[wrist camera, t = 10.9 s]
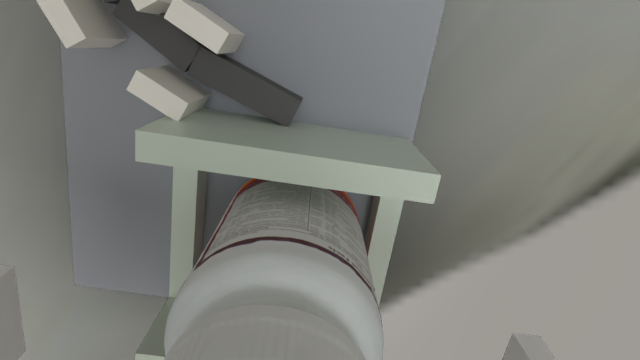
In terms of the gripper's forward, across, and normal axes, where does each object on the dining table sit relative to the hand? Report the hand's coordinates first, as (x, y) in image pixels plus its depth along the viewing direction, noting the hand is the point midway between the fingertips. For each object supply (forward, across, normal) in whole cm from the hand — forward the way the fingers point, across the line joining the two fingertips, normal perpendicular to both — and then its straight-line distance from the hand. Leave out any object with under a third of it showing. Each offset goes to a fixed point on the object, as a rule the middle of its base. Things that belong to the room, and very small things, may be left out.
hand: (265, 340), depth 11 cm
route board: (+9, -3, +3) cm, 10 cm away
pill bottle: (+8, 0, -1) cm, 8 cm away
